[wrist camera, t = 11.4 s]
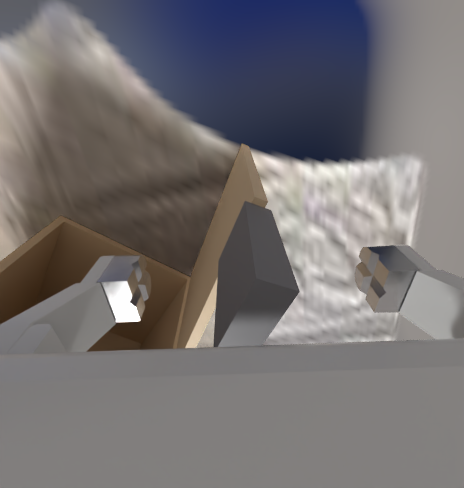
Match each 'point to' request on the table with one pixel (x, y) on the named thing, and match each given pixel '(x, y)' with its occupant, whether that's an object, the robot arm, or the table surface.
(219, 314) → the carton flap
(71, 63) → the table surface
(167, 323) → the carton
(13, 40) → the table surface
